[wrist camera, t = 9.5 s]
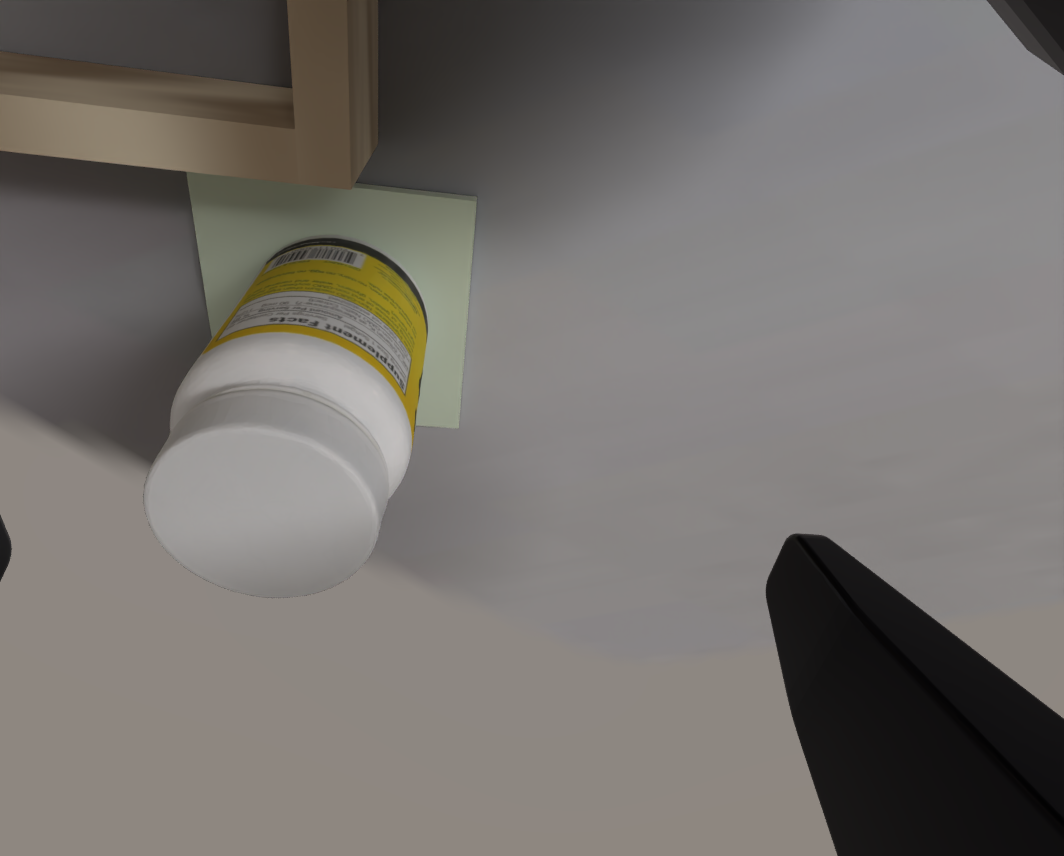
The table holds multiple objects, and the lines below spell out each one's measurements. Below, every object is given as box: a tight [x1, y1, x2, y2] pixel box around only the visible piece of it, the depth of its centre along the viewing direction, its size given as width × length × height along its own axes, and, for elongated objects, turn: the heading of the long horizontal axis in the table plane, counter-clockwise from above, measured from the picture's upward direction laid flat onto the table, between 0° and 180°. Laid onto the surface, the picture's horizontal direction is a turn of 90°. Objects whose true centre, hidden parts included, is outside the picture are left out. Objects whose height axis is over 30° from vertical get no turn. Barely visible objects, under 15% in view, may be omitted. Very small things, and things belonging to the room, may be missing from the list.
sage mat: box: [186, 172, 477, 429], centre depth 19 cm, size 7×7×1 cm
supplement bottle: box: [143, 235, 428, 598], centre depth 15 cm, size 5×5×8 cm
